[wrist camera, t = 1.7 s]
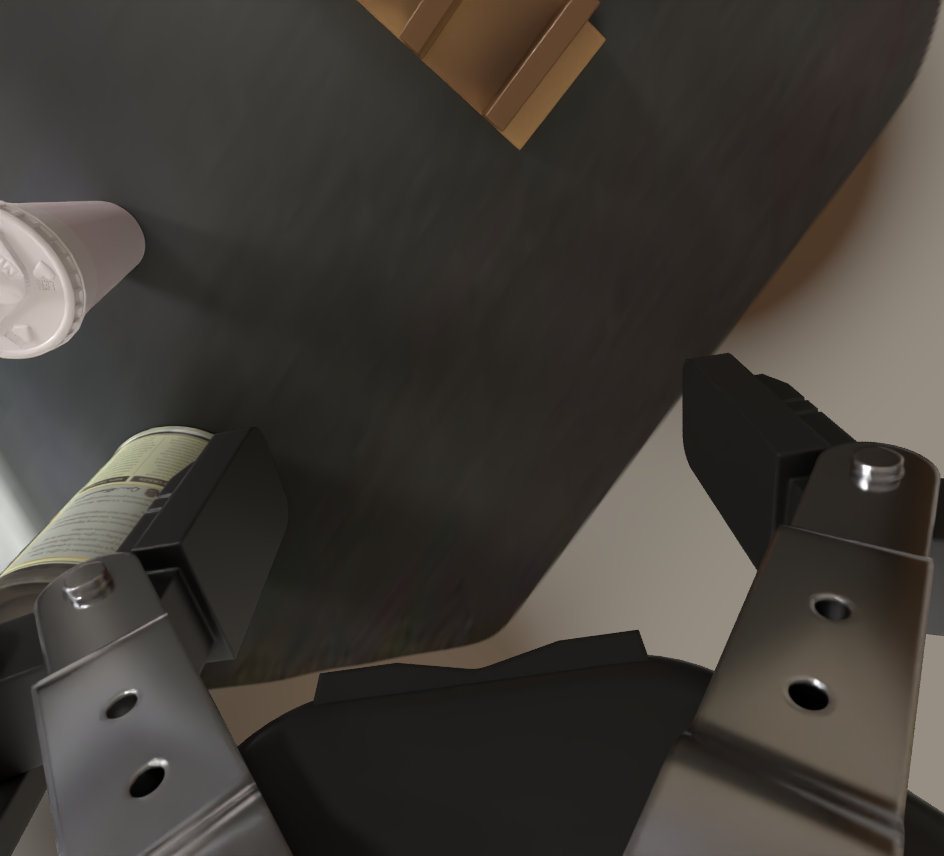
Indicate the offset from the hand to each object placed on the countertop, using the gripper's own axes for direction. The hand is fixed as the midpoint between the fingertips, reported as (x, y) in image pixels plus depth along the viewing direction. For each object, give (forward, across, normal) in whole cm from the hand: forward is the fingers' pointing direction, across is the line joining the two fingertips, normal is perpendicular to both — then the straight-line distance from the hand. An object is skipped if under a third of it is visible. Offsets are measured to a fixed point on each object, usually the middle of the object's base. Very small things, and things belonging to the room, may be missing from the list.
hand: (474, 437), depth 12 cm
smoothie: (+24, +19, -2) cm, 31 cm away
